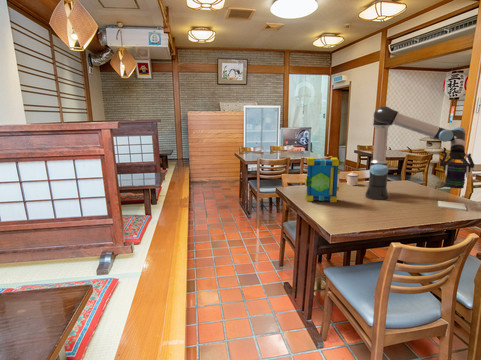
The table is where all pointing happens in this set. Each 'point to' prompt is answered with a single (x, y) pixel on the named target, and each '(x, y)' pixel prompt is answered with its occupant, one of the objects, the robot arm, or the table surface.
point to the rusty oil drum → (456, 175)
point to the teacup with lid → (352, 179)
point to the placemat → (452, 205)
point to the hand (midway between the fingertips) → (456, 175)
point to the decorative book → (322, 179)
